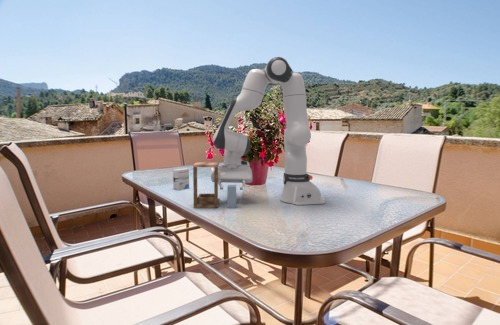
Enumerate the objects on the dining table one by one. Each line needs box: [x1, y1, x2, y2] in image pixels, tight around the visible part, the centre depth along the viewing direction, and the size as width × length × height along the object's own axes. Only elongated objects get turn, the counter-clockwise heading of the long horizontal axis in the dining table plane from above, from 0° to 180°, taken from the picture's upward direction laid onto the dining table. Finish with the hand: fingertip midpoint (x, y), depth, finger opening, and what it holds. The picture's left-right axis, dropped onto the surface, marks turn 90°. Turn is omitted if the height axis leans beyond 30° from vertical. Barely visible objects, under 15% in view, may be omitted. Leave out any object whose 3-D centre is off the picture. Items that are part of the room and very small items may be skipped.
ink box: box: [172, 167, 190, 191], centre depth 177 cm, size 8×5×12 cm, turn 144°
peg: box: [226, 184, 237, 209], centre depth 140 cm, size 4×4×10 cm
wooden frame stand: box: [192, 161, 221, 209], centre depth 143 cm, size 11×14×20 cm
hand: (231, 189), depth 142 cm, fingers open, 8 cm apart
